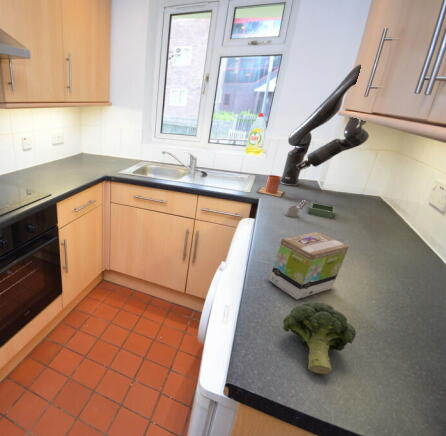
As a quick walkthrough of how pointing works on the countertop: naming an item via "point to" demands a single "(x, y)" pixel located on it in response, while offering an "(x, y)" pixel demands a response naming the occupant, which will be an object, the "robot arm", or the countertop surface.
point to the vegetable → (320, 332)
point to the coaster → (271, 193)
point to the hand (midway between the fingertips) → (290, 173)
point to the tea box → (307, 264)
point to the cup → (272, 184)
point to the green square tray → (322, 210)
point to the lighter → (295, 209)
